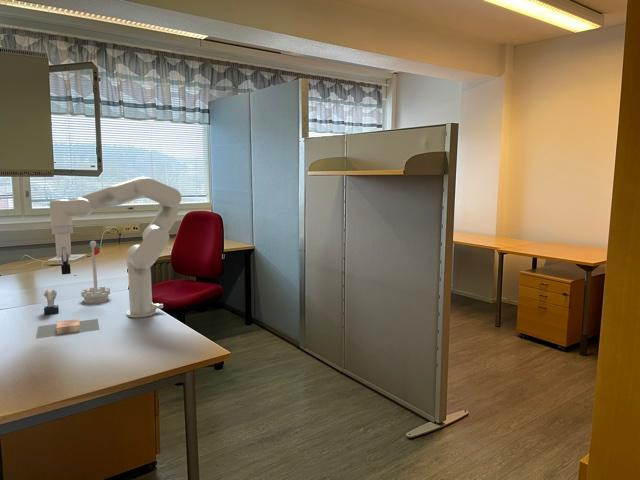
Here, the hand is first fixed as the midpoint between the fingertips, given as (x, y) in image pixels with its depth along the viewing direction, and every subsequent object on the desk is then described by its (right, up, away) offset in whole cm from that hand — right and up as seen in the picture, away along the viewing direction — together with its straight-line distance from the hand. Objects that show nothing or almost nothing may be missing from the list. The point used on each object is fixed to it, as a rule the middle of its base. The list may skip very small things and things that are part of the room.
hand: (66, 273), depth 193 cm
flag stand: (-7, -16, +41) cm, 45 cm away
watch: (-17, -20, +18) cm, 32 cm away
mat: (+3, -22, -3) cm, 23 cm away
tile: (+1, -20, -1) cm, 20 cm away
